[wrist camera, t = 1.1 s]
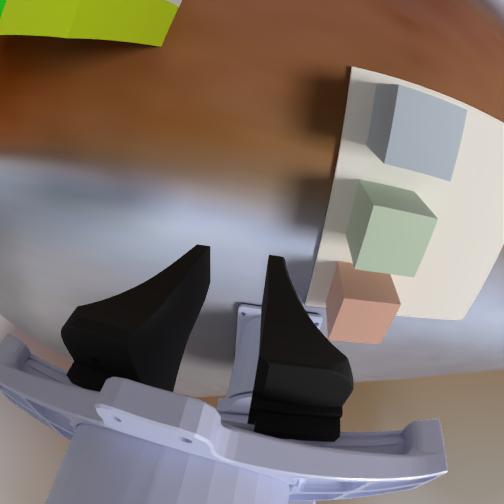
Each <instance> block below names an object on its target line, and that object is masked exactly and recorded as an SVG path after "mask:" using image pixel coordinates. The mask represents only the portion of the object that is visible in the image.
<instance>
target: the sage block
mask: <svg viewBox="0 0 504 504" xmlns="http://www.w3.org/2000/svg"><path fill="white" fill-rule="evenodd" d="M437 220H438V218H437V217H436V216H435V215H434V214H433V212H432V211H431V210H430V209H429V208H428V206H427V205H426V204H425V203H424V202H423V201H422V200H421V198H420V197H419V196H418V195H417V194H416V193H415V192H414V191H410V190H406V189H402V188H398V187H393V186H389V185H384V184H380V183H375V182H370V181H365V180H360V179H359V182H358V186H357V190H356V195H355V199H354V203H353V207H352V211H351V215H350V219H349V223H348V227H347V231H346V238H347V242H348V245H349V249H350V253H351V257H352V261H353V266H354V269H357V270H365V271H372V272H379V273H386V274H393V275H400V276H407V277H415V274H416V272H417V270H418V268H419V265H420V263H421V261H422V258H423V256H424V254H425V251H426V249H427V246H428V244H429V241H430V239H431V236H432V234H433V231H434V228H435V226H436V223H437Z"/></svg>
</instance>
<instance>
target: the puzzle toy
mask: <svg viewBox="0 0 504 504" xmlns="http://www.w3.org/2000/svg"><path fill="white" fill-rule="evenodd" d="M181 2H182V0H0V35H36V36H50V37H61V38H82V39H101V40H114V41H123V42H132V43H140V44H147V45H153V46H159V47H161V46H162V43H163V41H164V38H165V36H166V34H167V32H168V29H169V27H170V25H171V23H172V20H173V18H174V16H175V14H176V12H177V10H178V8H179V6H180V4H181Z"/></svg>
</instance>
